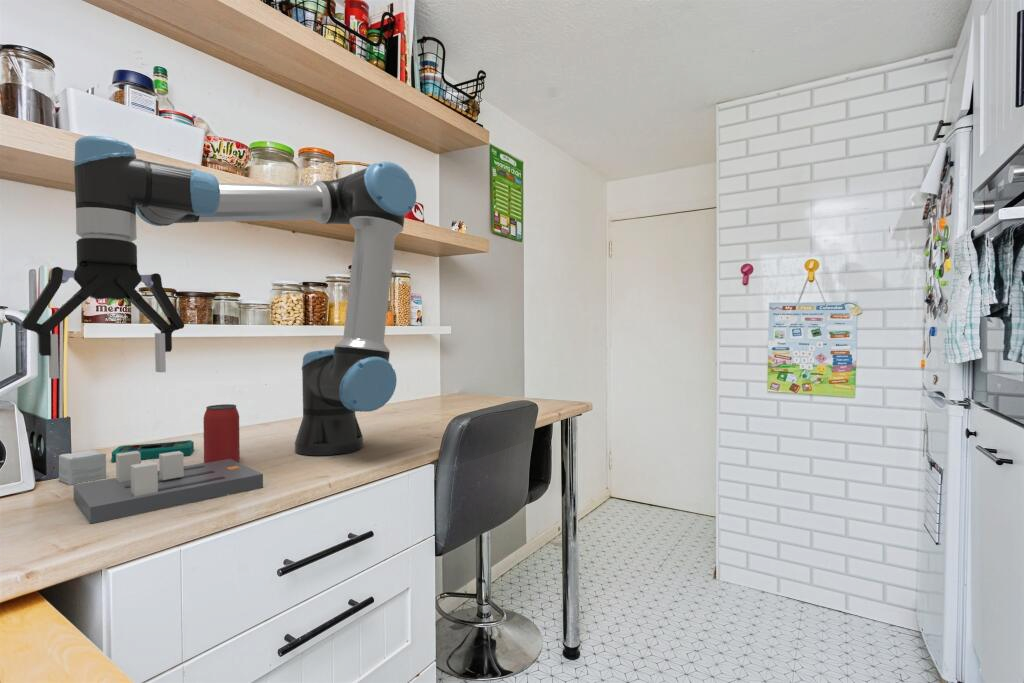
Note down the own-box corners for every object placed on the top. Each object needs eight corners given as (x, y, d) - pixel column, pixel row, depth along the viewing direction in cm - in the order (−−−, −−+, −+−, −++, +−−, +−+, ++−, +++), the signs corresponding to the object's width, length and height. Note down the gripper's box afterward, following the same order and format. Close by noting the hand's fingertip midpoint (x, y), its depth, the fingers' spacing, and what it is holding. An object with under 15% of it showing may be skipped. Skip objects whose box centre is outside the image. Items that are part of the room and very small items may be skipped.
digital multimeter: (117, 457, 116) (116, 444, 116) (194, 451, 122) (194, 438, 122) (108, 465, 109) (108, 451, 109) (191, 457, 116) (191, 444, 116)
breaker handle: (179, 473, 91) (179, 450, 91) (183, 476, 89) (183, 453, 89) (159, 477, 89) (159, 453, 89) (163, 480, 87) (162, 456, 87)
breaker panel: (230, 470, 103) (230, 436, 103) (263, 487, 92) (262, 449, 92) (73, 499, 86) (72, 458, 86) (90, 523, 75) (89, 476, 75)
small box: (107, 478, 98) (107, 452, 98) (69, 486, 94) (68, 458, 93) (95, 473, 101) (95, 448, 101) (57, 481, 97) (57, 454, 97)
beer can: (242, 463, 109) (242, 406, 109) (206, 468, 105) (206, 409, 105) (236, 457, 114) (235, 403, 114) (201, 462, 110) (200, 405, 110)
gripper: (188, 251, 94) (190, 368, 94) (-7, 232, 75) (-3, 379, 76) (203, 246, 89) (205, 370, 89) (-2, 225, 70) (3, 382, 71)
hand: (110, 375), depth 83 cm, fingers open, 13 cm apart
